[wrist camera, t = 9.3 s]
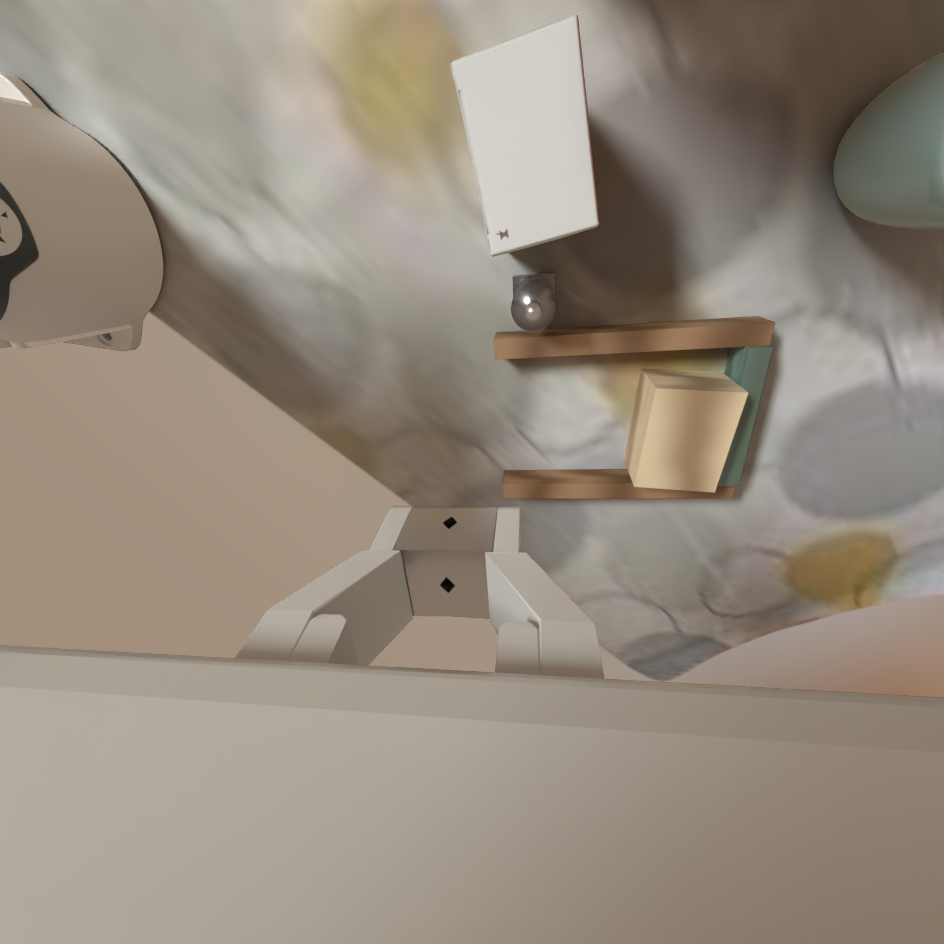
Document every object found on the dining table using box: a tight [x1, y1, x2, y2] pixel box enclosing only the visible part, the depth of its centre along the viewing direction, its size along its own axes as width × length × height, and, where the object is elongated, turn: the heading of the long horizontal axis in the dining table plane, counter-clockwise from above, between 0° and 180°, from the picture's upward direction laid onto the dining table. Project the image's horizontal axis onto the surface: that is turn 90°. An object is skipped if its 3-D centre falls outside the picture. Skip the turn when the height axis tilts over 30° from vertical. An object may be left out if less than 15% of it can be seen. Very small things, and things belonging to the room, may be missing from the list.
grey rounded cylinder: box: [511, 272, 556, 331], centre depth 29 cm, size 3×3×8 cm
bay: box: [494, 316, 775, 499], centre depth 34 cm, size 19×14×3 cm
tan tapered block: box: [624, 369, 748, 493], centre depth 33 cm, size 6×8×5 cm
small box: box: [451, 15, 599, 256], centre depth 24 cm, size 8×6×10 cm
